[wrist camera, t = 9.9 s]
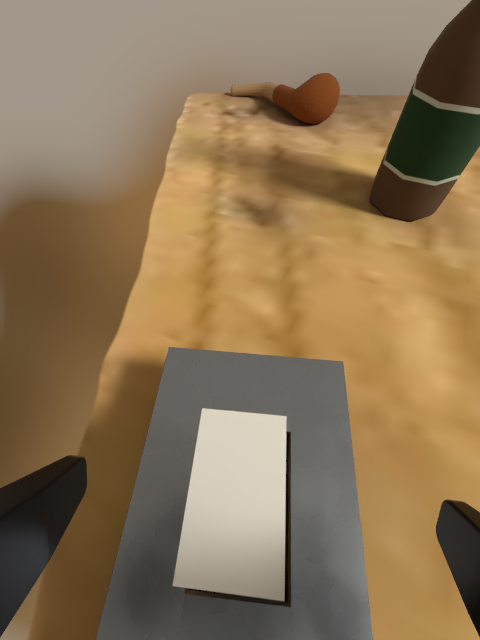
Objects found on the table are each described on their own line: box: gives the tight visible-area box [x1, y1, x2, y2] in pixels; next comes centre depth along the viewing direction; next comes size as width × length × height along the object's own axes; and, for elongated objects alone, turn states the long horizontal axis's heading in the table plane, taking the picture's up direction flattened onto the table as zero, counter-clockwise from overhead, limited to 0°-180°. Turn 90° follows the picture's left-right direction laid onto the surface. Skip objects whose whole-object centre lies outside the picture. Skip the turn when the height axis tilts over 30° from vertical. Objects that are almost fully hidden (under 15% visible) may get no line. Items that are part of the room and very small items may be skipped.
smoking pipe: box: [231, 73, 340, 124], centre depth 45 cm, size 7×18×6 cm, turn 60°
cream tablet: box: [173, 408, 287, 601], centre depth 13 cm, size 4×2×12 cm, turn 175°
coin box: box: [96, 347, 373, 640], centre depth 16 cm, size 16×11×4 cm
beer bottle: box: [370, 0, 480, 222], centre depth 24 cm, size 8×8×24 cm
